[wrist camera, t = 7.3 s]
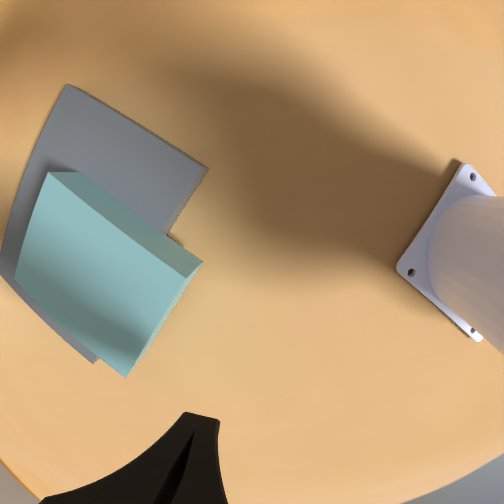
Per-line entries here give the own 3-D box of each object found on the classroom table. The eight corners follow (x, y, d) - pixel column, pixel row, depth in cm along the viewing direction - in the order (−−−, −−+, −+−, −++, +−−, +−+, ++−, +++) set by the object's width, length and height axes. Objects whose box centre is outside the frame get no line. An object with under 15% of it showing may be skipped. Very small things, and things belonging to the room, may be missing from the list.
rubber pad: (208, 168, 16) (201, 166, 15) (103, 354, 20) (92, 364, 18) (80, 88, 16) (67, 83, 14) (8, 265, 19) (-4, 270, 18)
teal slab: (186, 278, 13) (48, 172, 13) (125, 377, 14) (13, 278, 14) (203, 261, 16) (80, 172, 15) (146, 351, 17) (43, 266, 17)
